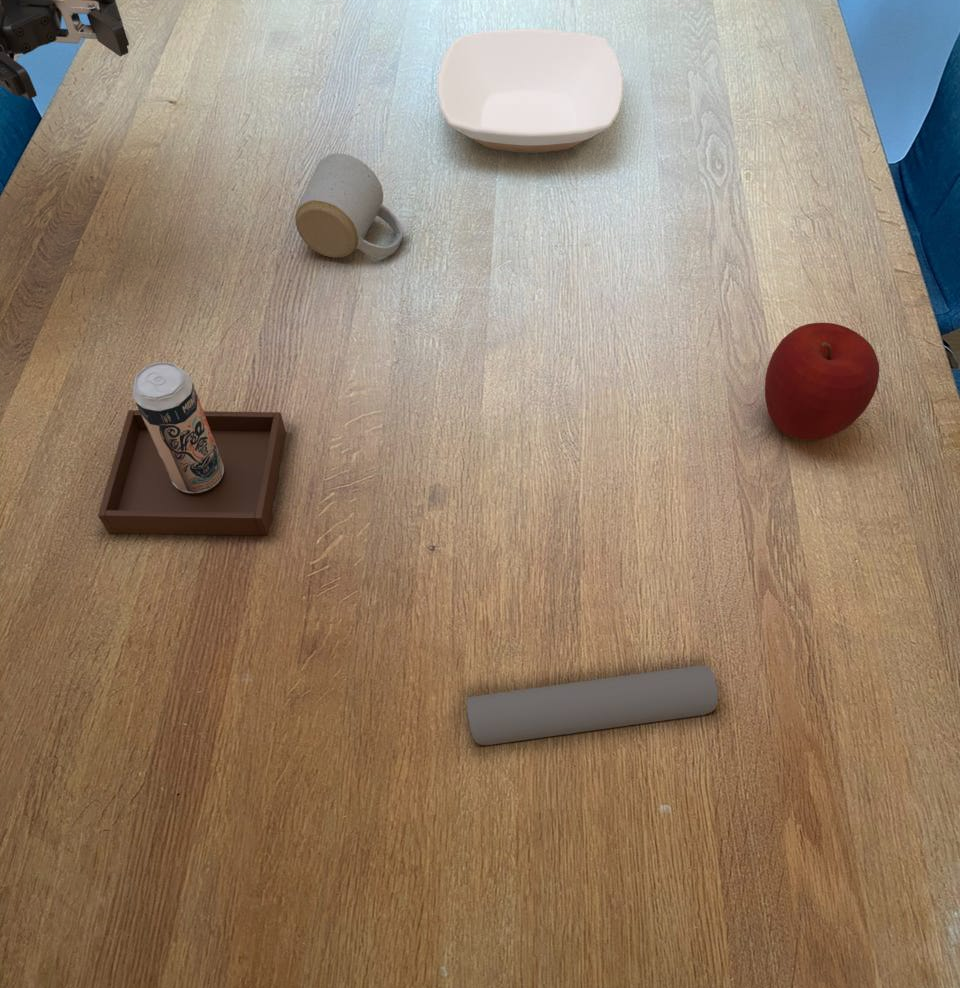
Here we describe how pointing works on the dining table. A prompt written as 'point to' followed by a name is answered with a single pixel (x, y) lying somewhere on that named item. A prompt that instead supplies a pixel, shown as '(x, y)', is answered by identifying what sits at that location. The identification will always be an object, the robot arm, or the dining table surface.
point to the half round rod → (592, 705)
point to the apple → (820, 380)
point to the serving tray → (218, 511)
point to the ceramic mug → (343, 209)
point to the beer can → (178, 427)
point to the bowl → (530, 88)
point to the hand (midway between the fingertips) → (76, 64)
